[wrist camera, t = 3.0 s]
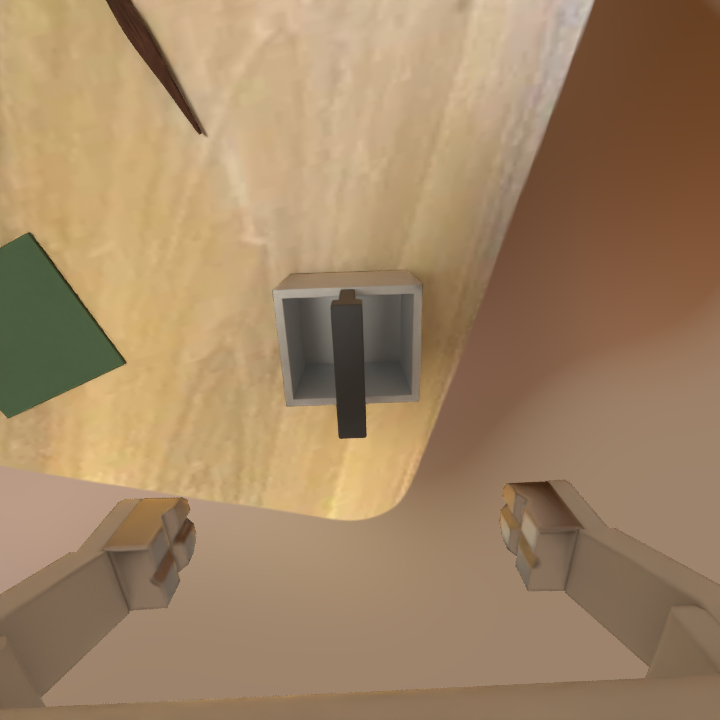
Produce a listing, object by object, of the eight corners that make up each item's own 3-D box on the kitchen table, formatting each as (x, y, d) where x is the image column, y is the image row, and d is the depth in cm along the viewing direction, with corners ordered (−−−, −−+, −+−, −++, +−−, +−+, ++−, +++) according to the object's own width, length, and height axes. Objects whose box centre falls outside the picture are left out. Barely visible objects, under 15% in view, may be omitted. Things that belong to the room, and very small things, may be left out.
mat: (30, 232, 24) (27, 232, 23) (126, 363, 27) (124, 364, 27) (-97, 301, 25) (-100, 302, 25) (10, 417, 28) (7, 418, 28)
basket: (407, 269, 25) (438, 299, 16) (406, 364, 27) (432, 437, 18) (290, 274, 25) (253, 305, 16) (299, 368, 27) (272, 443, 18)
